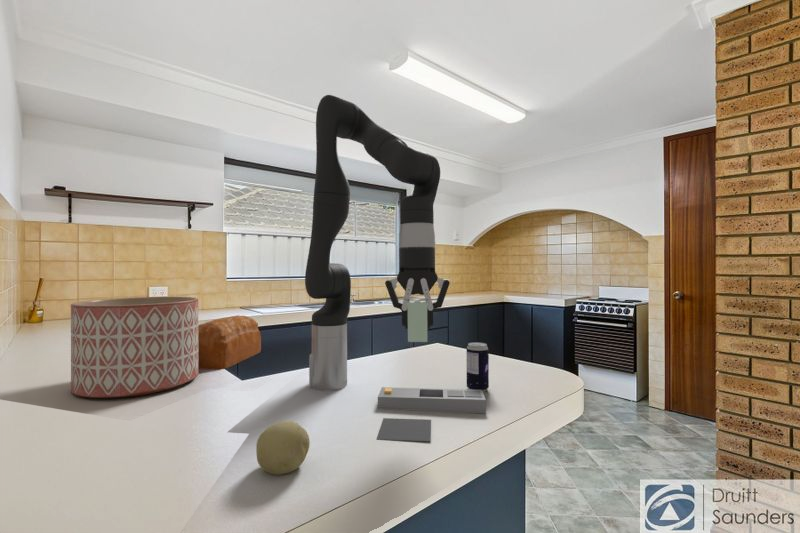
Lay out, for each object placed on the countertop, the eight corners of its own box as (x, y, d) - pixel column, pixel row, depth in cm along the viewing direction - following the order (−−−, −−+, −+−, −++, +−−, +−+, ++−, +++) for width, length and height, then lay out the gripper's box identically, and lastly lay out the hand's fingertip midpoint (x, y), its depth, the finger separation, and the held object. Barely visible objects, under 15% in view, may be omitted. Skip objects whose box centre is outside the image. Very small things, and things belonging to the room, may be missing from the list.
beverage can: (488, 394, 99) (488, 346, 99) (466, 392, 100) (466, 345, 100) (488, 387, 104) (488, 342, 104) (466, 385, 105) (466, 341, 105)
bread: (264, 356, 141) (264, 313, 141) (223, 376, 115) (223, 323, 115) (228, 355, 143) (228, 312, 143) (180, 375, 117) (180, 323, 117)
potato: (304, 484, 58) (304, 431, 58) (250, 487, 57) (250, 433, 57) (312, 459, 65) (312, 412, 65) (264, 461, 65) (263, 413, 65)
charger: (407, 341, 80) (407, 302, 80) (408, 338, 84) (408, 300, 84) (427, 341, 79) (427, 301, 79) (427, 338, 83) (426, 300, 83)
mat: (376, 441, 72) (376, 439, 72) (383, 420, 82) (383, 418, 82) (430, 443, 71) (430, 441, 71) (431, 421, 81) (431, 419, 81)
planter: (41, 404, 92) (41, 304, 92) (145, 373, 118) (145, 295, 119) (131, 415, 85) (131, 307, 85) (220, 380, 111) (220, 297, 111)
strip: (377, 410, 88) (377, 394, 88) (381, 399, 95) (381, 384, 95) (485, 413, 86) (485, 397, 86) (482, 402, 93) (482, 387, 93)
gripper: (381, 245, 78) (382, 331, 78) (452, 244, 77) (453, 331, 77) (384, 247, 86) (385, 325, 86) (449, 246, 85) (450, 325, 85)
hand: (417, 327), depth 81 cm, fingers closed on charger, 3 cm apart
